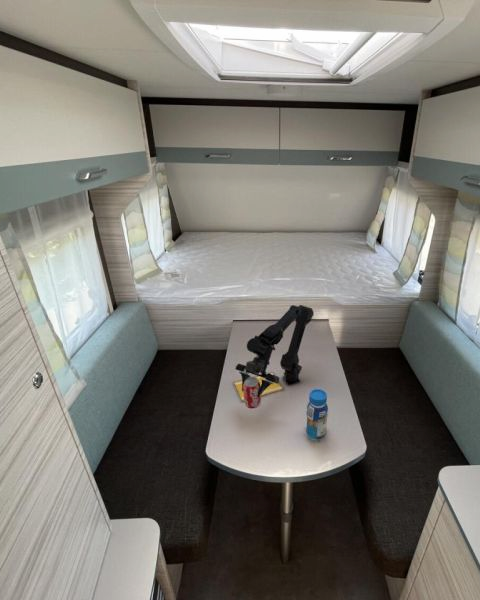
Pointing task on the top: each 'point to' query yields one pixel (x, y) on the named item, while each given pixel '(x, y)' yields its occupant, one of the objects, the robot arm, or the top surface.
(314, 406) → the beverage bottle
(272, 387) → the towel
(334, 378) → the top surface
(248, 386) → the soda can
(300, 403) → the top surface
